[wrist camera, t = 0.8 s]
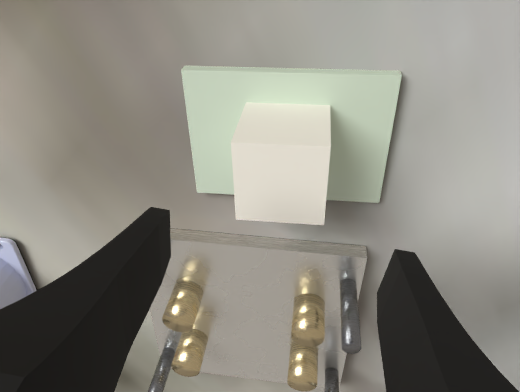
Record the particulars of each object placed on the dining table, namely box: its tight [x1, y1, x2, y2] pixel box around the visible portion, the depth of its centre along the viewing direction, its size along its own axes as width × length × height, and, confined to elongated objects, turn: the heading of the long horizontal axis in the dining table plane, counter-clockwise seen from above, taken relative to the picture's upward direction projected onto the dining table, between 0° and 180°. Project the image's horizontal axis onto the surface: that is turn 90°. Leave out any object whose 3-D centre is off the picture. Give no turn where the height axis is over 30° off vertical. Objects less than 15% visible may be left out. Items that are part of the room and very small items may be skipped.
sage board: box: [181, 66, 402, 225], centre depth 20 cm, size 10×7×5 cm
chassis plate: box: [148, 228, 367, 392], centre depth 28 cm, size 14×14×6 cm
